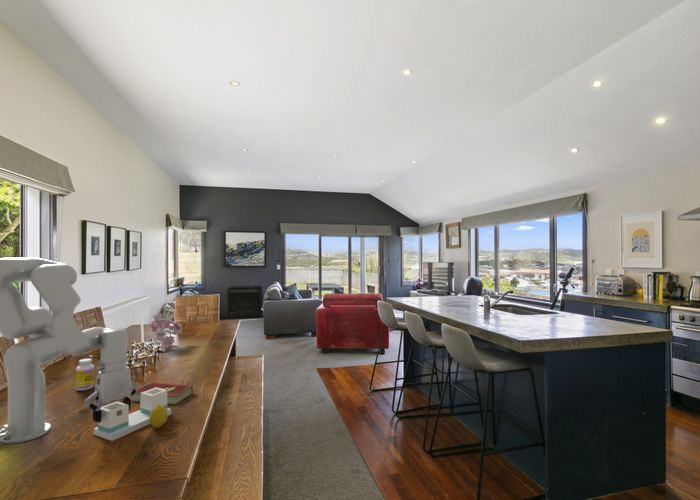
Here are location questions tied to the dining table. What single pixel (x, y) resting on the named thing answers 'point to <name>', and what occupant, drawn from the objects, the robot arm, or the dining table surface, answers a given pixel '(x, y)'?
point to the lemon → (158, 416)
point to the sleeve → (114, 417)
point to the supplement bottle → (85, 375)
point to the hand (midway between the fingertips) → (112, 415)
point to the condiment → (96, 353)
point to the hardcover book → (173, 390)
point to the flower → (160, 325)
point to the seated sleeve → (152, 399)
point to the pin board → (135, 423)
